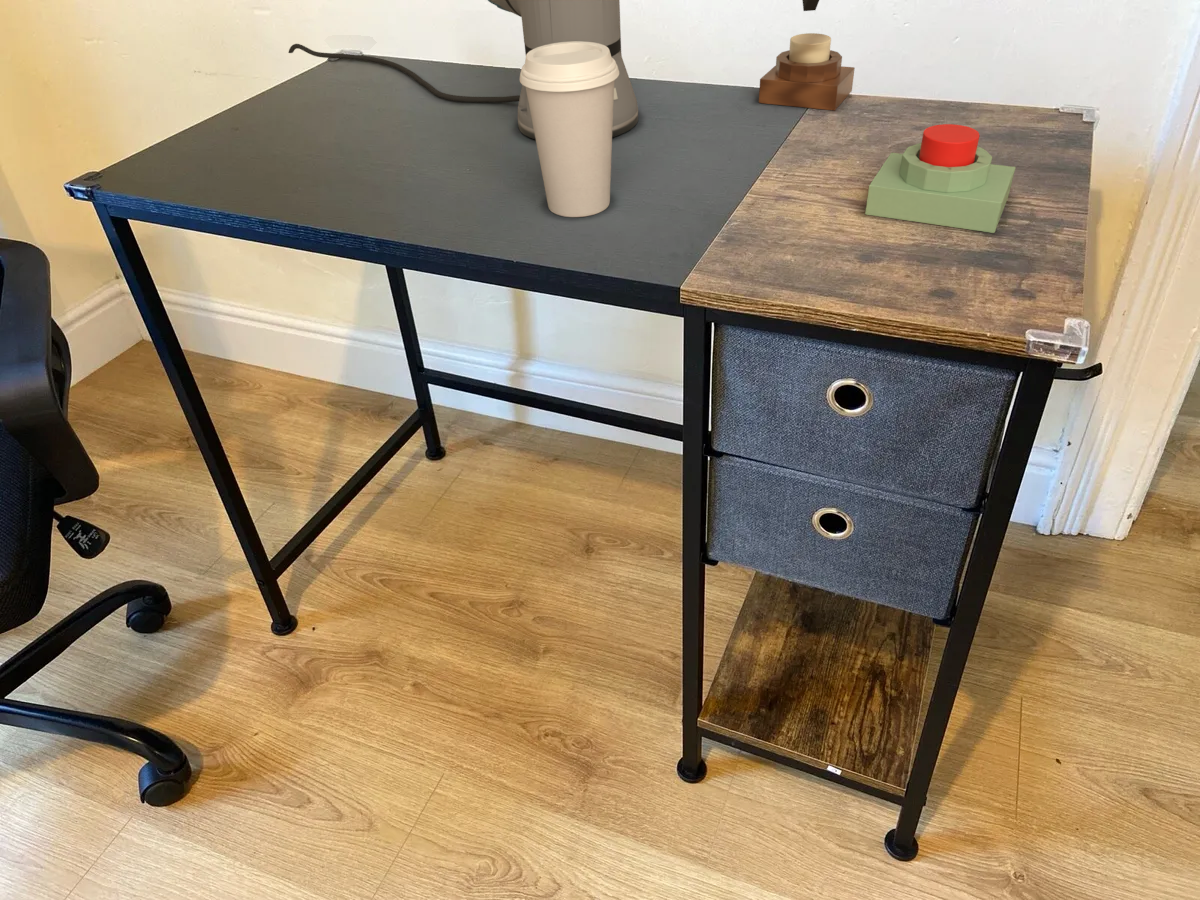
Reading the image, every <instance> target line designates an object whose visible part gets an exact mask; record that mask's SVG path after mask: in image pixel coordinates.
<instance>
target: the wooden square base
mask: <svg viewBox="0 0 1200 900" xmlns="http://www.w3.org/2000/svg"><path fill="white" fill-rule="evenodd" d="M789 50H790V49H789ZM789 50H785V51H781V52H780V53H779V54H778V55H777V56H776V59H775V66H773V67H772V68H771V69H770V70H768V72H766V73H765V74H763V76H762V77H761V78H760V79H759V90H758V91H759V92H758V104H764V105H765V104H766V105H776V106H783V107H784V106H786V107H796V108H805V109H815V110H826V111H837V109H838V108H839V106H840V105H841V104H842V103H843V102H844V101H845V100H846V99H847V98H848V96H849V95H850V94H851V93H852V91H853V84H854V76H855V67H854V66H853V67H852V66H843V65H842V62H843V55H841V54H840V53H839V52H838V51H835V50H831V49H830V55H829V60H828V61H824V62H820V63H798V62H793V61H790V60H789Z"/></svg>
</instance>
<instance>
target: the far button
mask: <svg viewBox="0 0 1200 900" xmlns="http://www.w3.org/2000/svg"><path fill="white" fill-rule="evenodd" d="M831 44H832V38H831V36H830V35H827V34H823V33H815V32H809V33H807V32H806V33H800V34H799V33H798V34H796V35H793V36H791V37H790V39H789V60H790V61H793V62H798V63H820V62H824V61H828V60H829V55H830V50H831V46H832V45H831Z"/></svg>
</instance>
